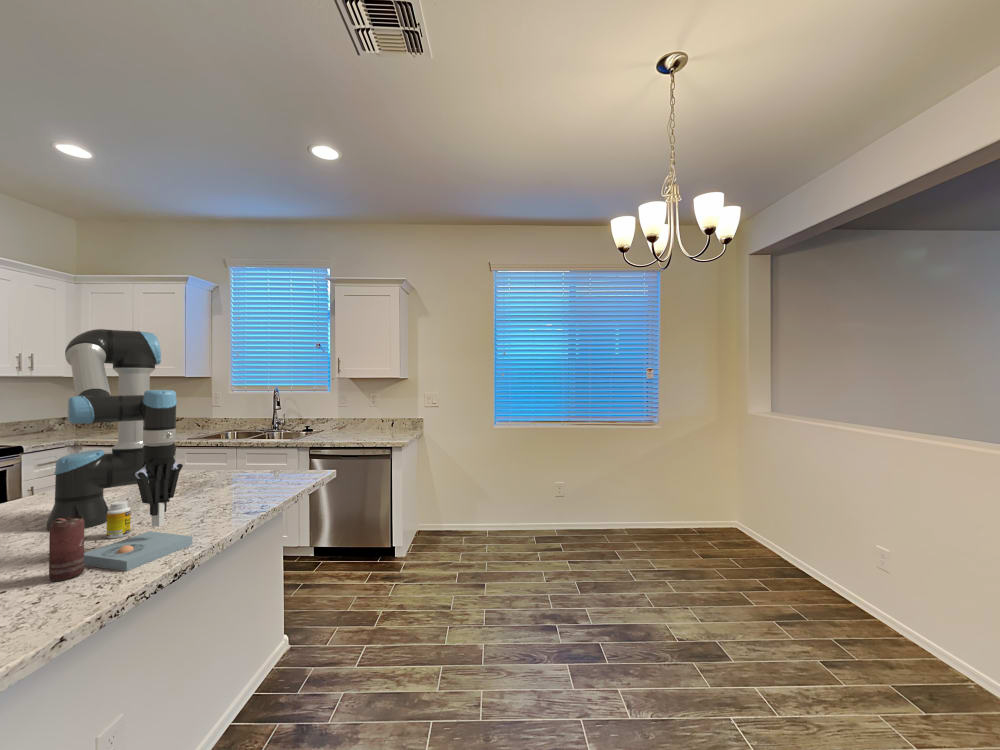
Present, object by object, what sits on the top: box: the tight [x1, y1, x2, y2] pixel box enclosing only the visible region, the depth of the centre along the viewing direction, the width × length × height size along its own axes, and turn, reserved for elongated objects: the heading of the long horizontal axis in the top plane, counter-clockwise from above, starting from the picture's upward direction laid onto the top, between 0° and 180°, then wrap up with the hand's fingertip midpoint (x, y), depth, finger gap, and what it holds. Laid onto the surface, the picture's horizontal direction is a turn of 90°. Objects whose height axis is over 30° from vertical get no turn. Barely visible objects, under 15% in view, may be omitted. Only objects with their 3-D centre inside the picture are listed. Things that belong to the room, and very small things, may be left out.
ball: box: [117, 545, 134, 554], centre depth 119 cm, size 4×4×4 cm
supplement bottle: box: [106, 500, 132, 539], centre depth 136 cm, size 6×6×10 cm
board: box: [84, 531, 193, 572], centre depth 122 cm, size 16×18×2 cm
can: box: [48, 516, 85, 582], centre depth 108 cm, size 6×6×14 cm
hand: (157, 525), depth 128 cm, fingers closed
